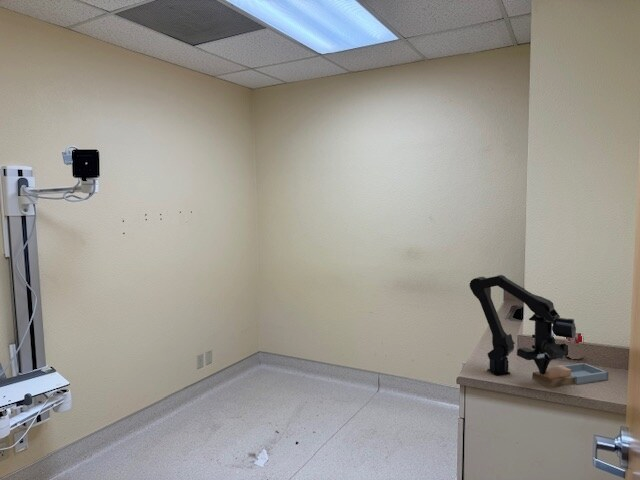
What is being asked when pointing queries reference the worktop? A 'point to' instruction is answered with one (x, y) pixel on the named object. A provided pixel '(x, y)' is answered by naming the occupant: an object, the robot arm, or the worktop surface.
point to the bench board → (553, 380)
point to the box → (586, 373)
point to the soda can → (575, 338)
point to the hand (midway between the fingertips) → (542, 374)
